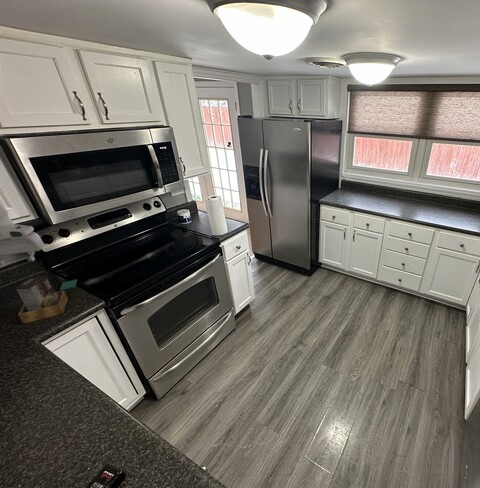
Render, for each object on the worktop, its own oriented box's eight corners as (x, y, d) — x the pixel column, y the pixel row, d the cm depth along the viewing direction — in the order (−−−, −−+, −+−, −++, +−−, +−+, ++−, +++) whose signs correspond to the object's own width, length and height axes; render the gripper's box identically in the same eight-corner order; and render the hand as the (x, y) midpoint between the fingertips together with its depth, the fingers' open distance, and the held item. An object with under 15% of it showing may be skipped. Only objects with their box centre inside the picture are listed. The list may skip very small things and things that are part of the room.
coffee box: (47, 304, 127) (32, 276, 120) (62, 303, 128) (48, 275, 121) (30, 317, 119) (13, 287, 112) (46, 316, 120) (30, 287, 113)
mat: (60, 290, 137) (59, 289, 137) (62, 283, 143) (62, 282, 143) (75, 287, 140) (74, 286, 140) (77, 280, 146) (77, 279, 146)
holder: (22, 324, 115) (17, 315, 113) (31, 307, 125) (26, 298, 123) (63, 313, 122) (58, 304, 120) (68, 298, 132) (64, 290, 129)
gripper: (-44, 238, 97) (-24, 270, 103) (29, 231, 104) (44, 261, 110) (-32, 232, 102) (-13, 263, 108) (37, 226, 110) (51, 255, 116)
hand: (16, 262), depth 109 cm, fingers open, 8 cm apart
